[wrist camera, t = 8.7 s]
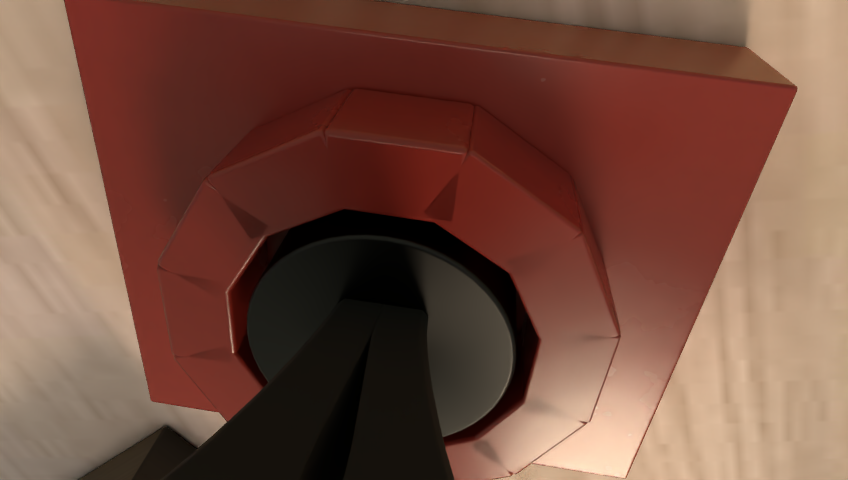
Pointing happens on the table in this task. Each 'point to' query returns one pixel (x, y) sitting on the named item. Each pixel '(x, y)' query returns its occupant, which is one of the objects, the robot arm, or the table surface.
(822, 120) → the table surface
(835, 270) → the table surface
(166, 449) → the panel
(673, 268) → the button box
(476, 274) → the button
